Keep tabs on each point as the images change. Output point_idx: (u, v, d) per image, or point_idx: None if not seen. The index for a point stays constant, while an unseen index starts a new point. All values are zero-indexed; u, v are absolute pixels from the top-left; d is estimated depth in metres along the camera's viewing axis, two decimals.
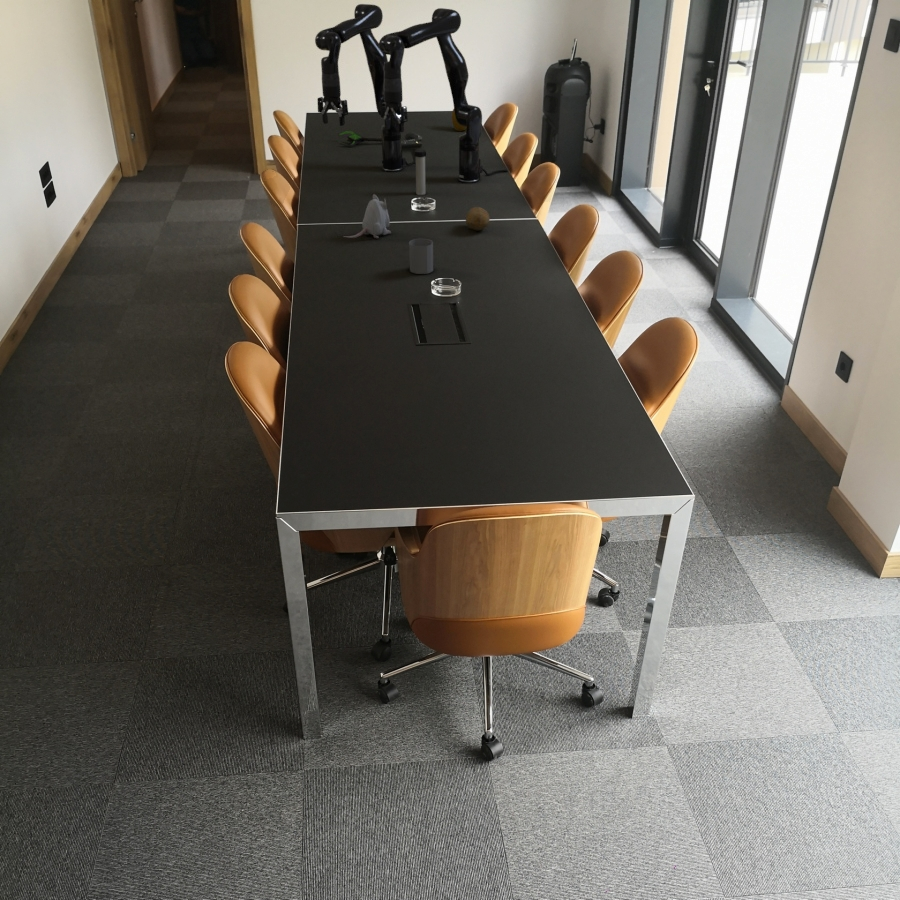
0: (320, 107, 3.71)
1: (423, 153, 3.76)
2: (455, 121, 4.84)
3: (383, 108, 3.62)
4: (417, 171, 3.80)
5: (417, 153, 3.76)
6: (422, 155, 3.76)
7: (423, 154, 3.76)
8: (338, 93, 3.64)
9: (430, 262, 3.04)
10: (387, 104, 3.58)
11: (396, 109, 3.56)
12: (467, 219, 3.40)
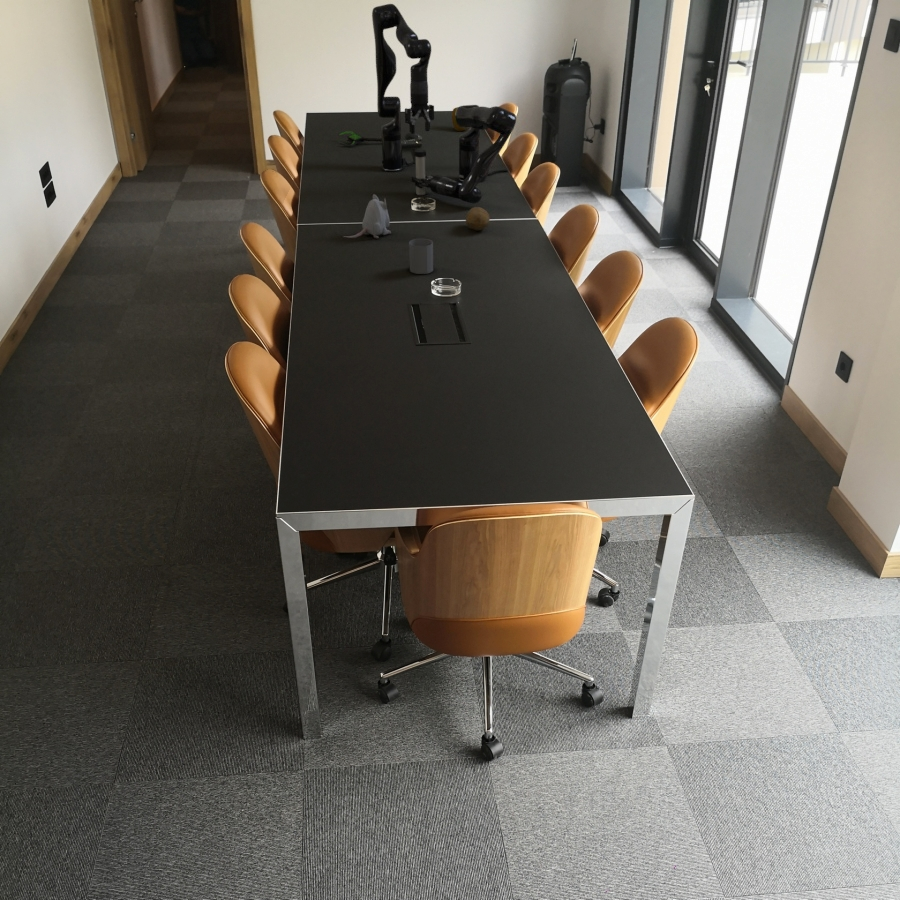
0: None
1: (423, 153, 3.76)
2: (455, 121, 4.84)
3: None
4: (417, 171, 3.80)
5: (417, 153, 3.76)
6: (422, 155, 3.76)
7: (423, 154, 3.76)
8: None
9: (430, 262, 3.04)
10: None
11: None
12: (467, 219, 3.40)
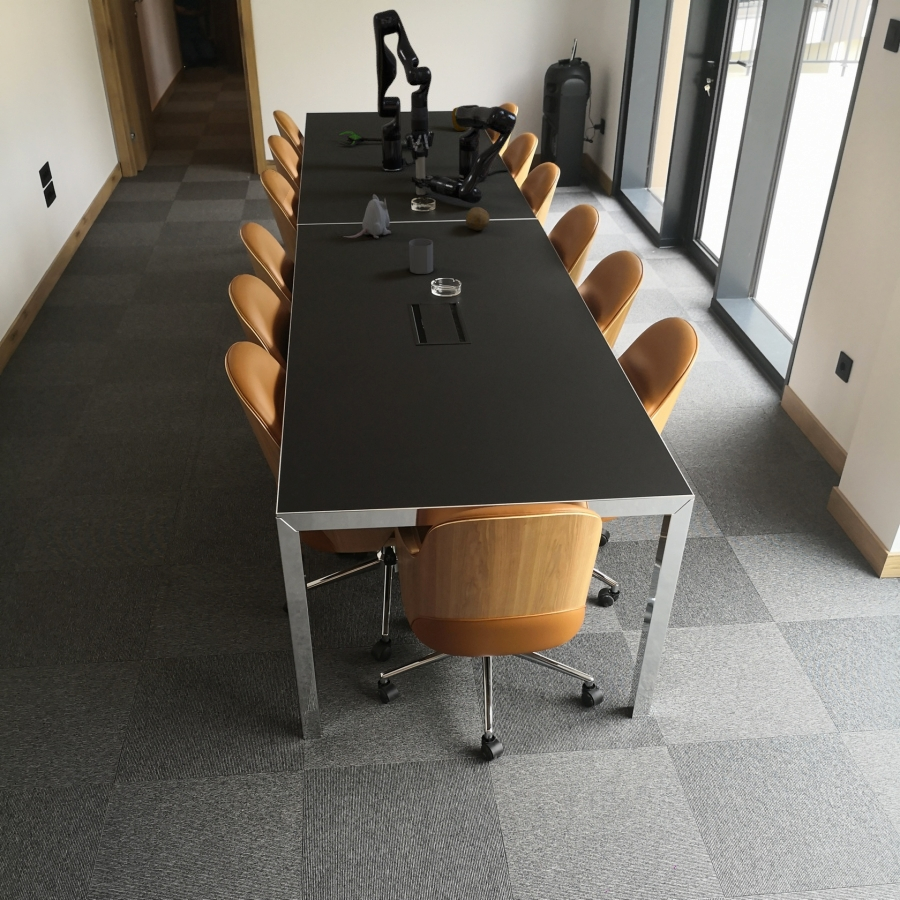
0: None
1: (423, 153, 3.76)
2: (455, 121, 4.84)
3: None
4: (417, 171, 3.80)
5: (417, 153, 3.76)
6: (422, 155, 3.76)
7: (423, 154, 3.76)
8: None
9: (430, 262, 3.04)
10: None
11: None
12: (467, 219, 3.40)
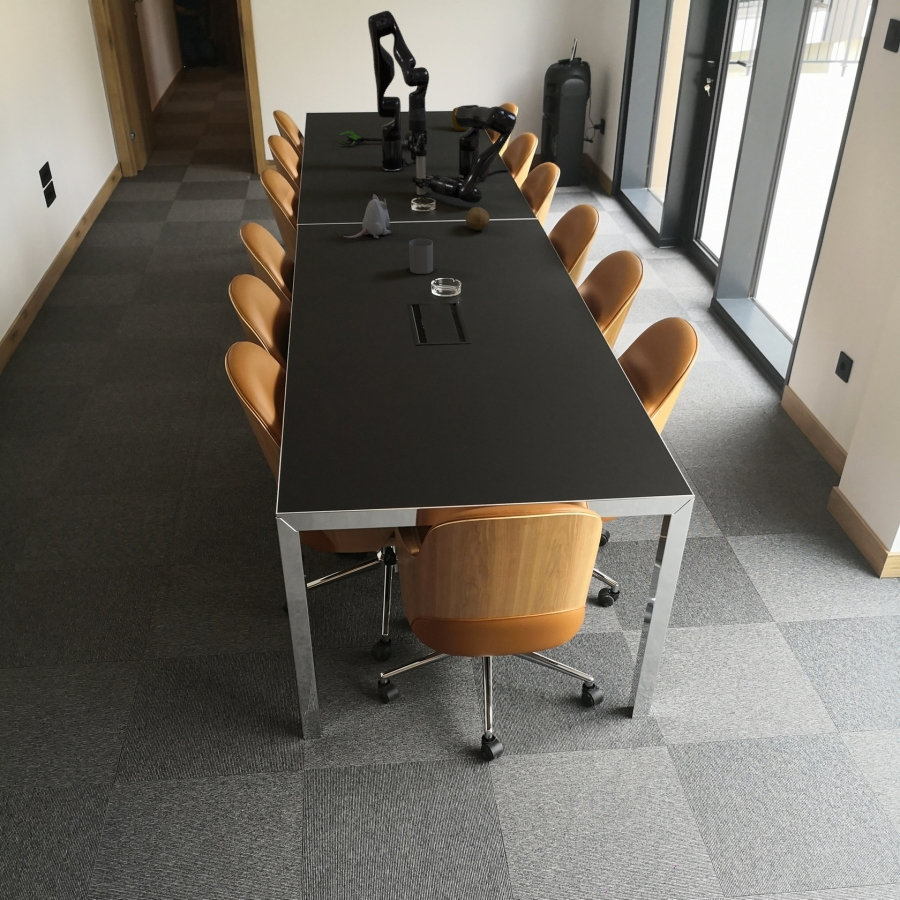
0: None
1: None
2: (455, 121, 4.84)
3: None
4: (417, 171, 3.81)
5: (424, 152, 3.76)
6: None
7: None
8: None
9: (430, 262, 3.04)
10: None
11: None
12: (467, 219, 3.40)
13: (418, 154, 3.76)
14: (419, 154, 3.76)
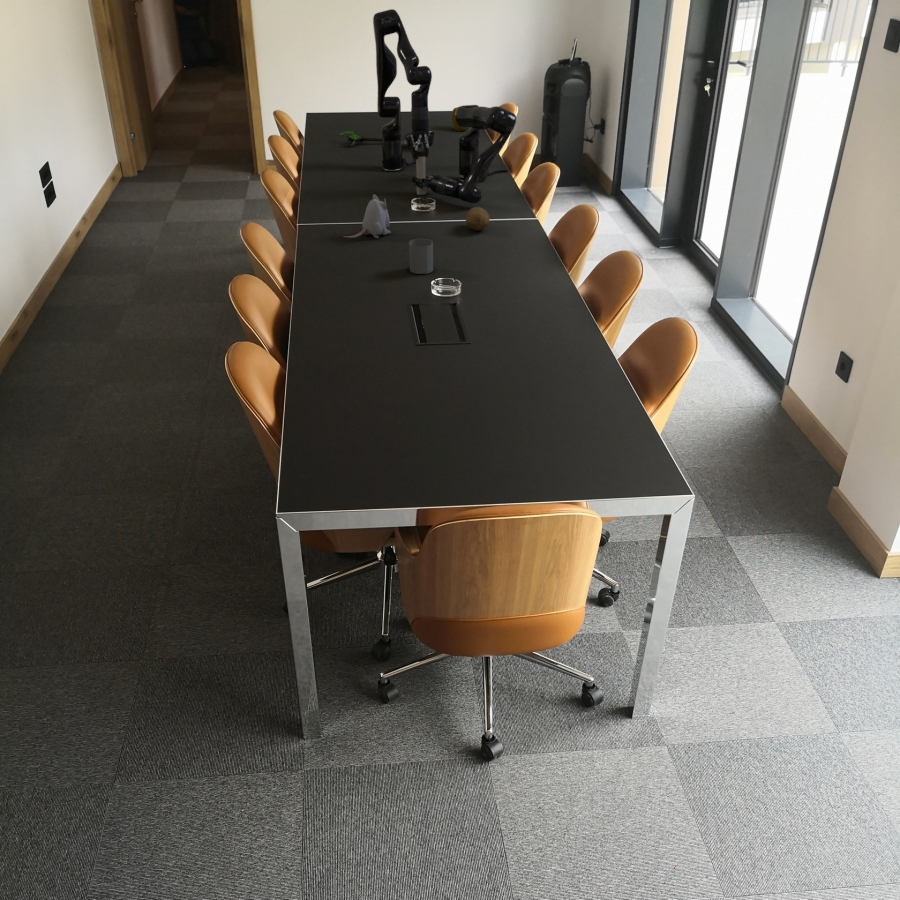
0: (412, 144, 3.72)
1: None
2: (455, 121, 4.84)
3: None
4: (417, 171, 3.81)
5: (424, 152, 3.76)
6: None
7: None
8: None
9: (430, 262, 3.04)
10: None
11: None
12: (467, 219, 3.40)
13: (418, 154, 3.76)
14: (419, 154, 3.76)
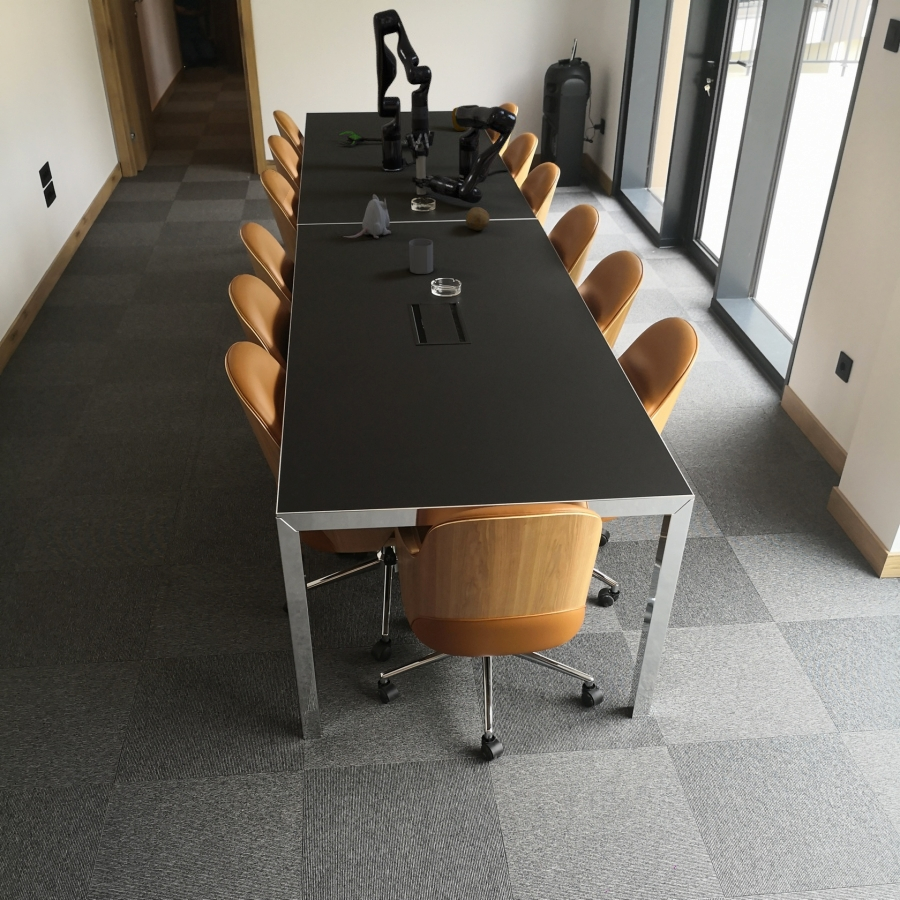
0: (412, 143, 3.72)
1: None
2: (455, 121, 4.84)
3: None
4: (417, 171, 3.81)
5: None
6: None
7: None
8: None
9: (430, 262, 3.04)
10: None
11: None
12: (467, 219, 3.40)
13: (424, 153, 3.77)
14: (425, 153, 3.77)
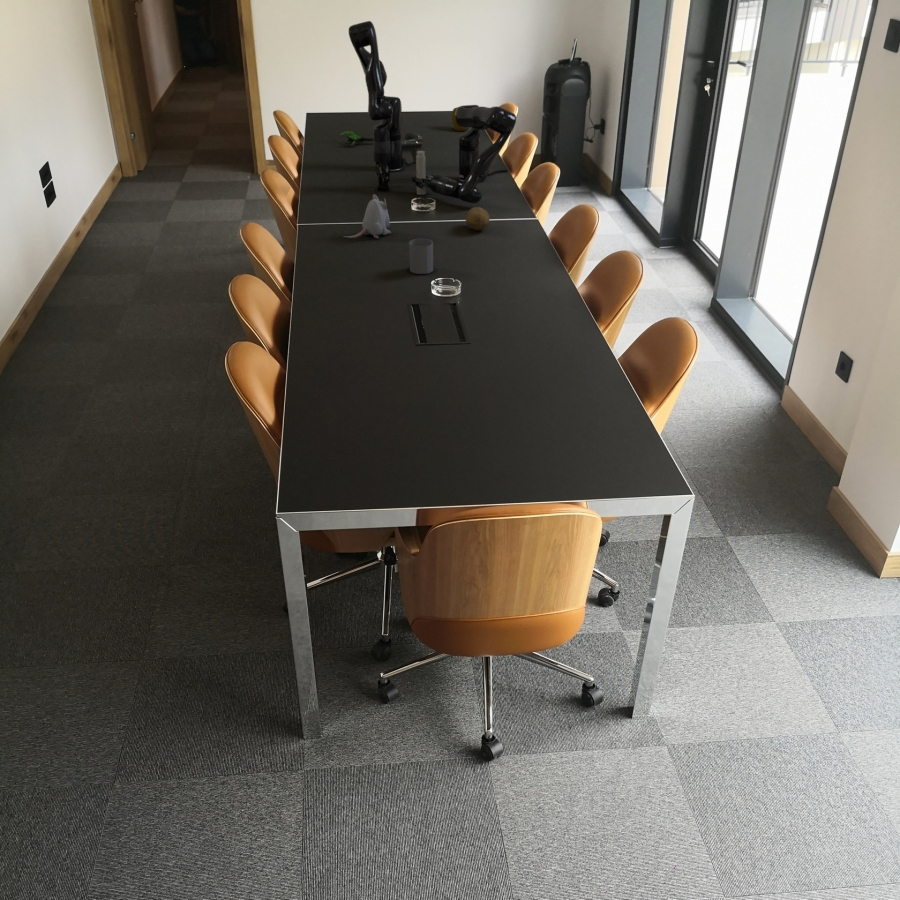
0: None
1: None
2: (455, 121, 4.84)
3: None
4: (417, 171, 3.81)
5: None
6: None
7: None
8: None
9: (430, 262, 3.04)
10: None
11: None
12: (467, 219, 3.40)
13: None
14: None
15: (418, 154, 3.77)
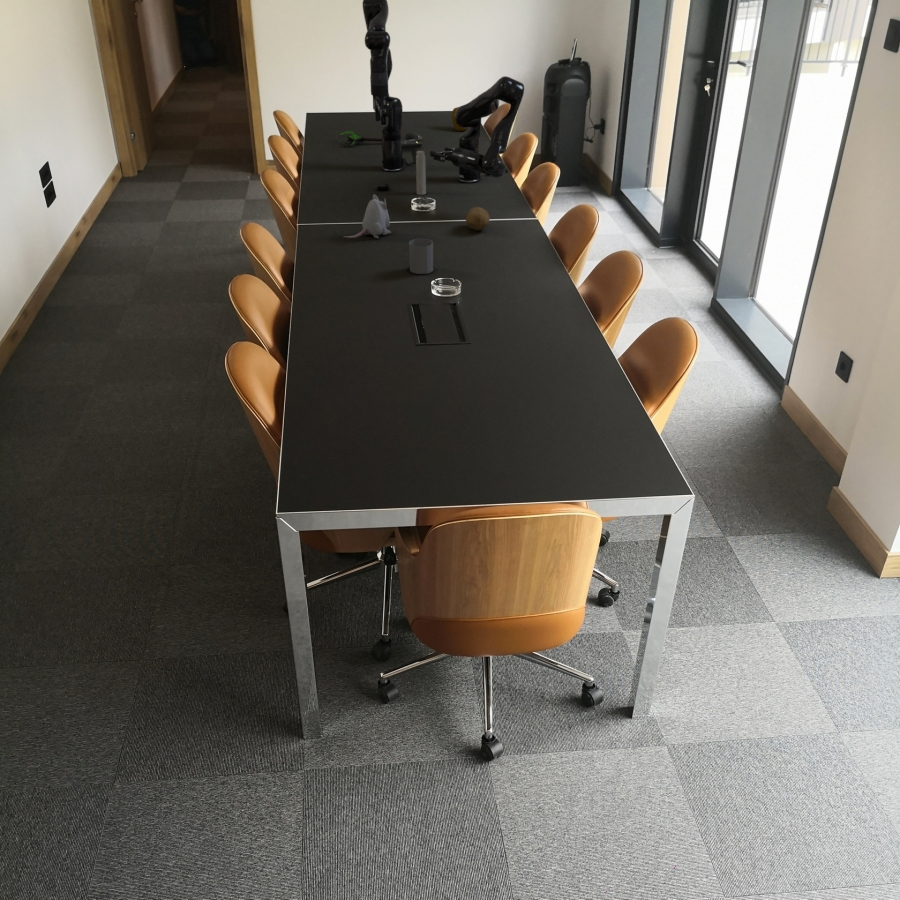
0: (386, 109, 3.69)
1: None
2: (455, 121, 4.84)
3: None
4: (417, 171, 3.81)
5: None
6: None
7: None
8: None
9: (430, 262, 3.04)
10: None
11: None
12: (467, 219, 3.40)
13: None
14: None
15: (418, 154, 3.77)
